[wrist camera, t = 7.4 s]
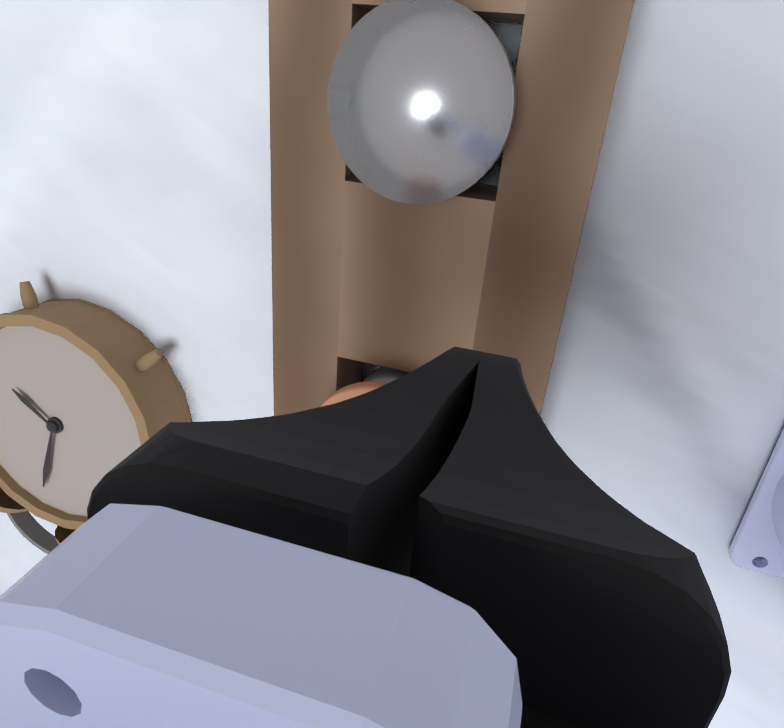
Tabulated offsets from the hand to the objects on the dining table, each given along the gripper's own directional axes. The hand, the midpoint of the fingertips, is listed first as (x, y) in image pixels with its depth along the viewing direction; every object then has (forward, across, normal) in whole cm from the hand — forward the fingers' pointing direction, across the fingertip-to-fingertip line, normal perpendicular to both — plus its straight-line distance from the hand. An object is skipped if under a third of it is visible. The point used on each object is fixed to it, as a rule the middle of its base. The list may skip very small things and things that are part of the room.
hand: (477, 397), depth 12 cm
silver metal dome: (+10, +3, -5) cm, 12 cm away
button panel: (+10, +3, +1) cm, 11 cm away
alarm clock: (+11, +20, +12) cm, 26 cm away
